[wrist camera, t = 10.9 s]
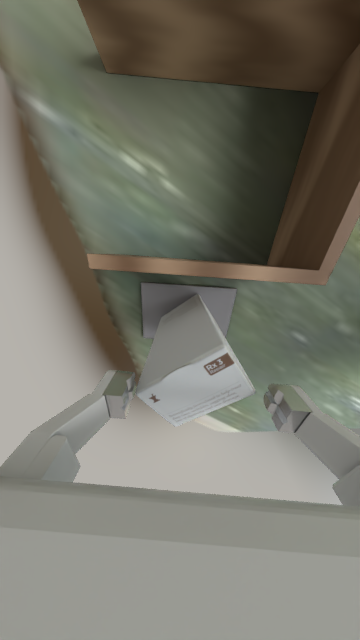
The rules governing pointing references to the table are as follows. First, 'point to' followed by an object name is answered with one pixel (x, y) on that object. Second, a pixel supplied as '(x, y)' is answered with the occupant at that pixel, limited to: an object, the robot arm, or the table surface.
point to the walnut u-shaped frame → (258, 71)
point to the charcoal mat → (170, 296)
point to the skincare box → (191, 366)
